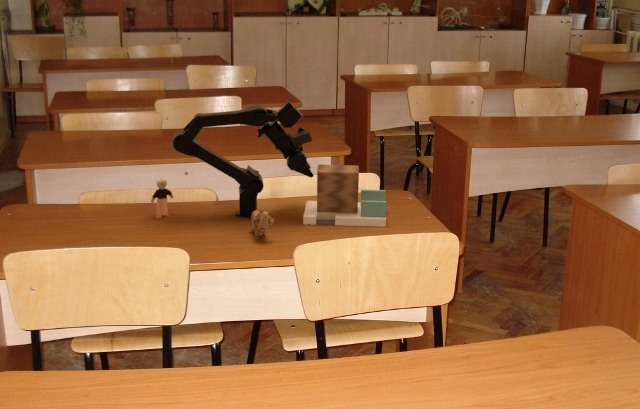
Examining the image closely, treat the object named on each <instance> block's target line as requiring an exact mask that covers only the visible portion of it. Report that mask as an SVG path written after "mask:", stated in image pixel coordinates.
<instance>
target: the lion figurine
mask: <svg viewBox="0 0 640 409" xmlns="http://www.w3.org/2000/svg"><path fill="white" fill-rule="evenodd" d="M260 211H261V210H259V211H258V209H257V210H255V211H253V213H252V215H251V218H250V230H249V233H254V235H255V236H254V239H255V240H259V239H260V236H259V231H260V232H261V231H262V234H261V236H262V238H263V239H266V238H267V235H266V231H267V228H268V227H269V225H273V222H274V221H275V218H273V217H272V216H271V215H269V212H268V211H261V212H260Z"/></svg>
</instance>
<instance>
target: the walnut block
mask: <svg viewBox="0 0 640 409" xmlns="http://www.w3.org/2000/svg"><path fill="white" fill-rule="evenodd" d="M316 173H317V175H316V201H317V212H332V213H358V202H359V180H360V179H359V176H360V165H354V164H353V165H351V164H346V165H345V164H318V165H317V170H316Z"/></svg>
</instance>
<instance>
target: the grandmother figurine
mask: <svg viewBox="0 0 640 409" xmlns="http://www.w3.org/2000/svg"><path fill="white" fill-rule="evenodd" d="M167 184H168V182H167V180H166V179H164V178H159V179H157V180H156V186H157V187H158V189H156V190H155V192H154V193H153V195H152V196H151V200H150V203H151V204H154V203H155V200H156V208H155V209H156V211H155V214H156V215H155V218H156V219H162V218H163V217H164V218H167V217H170V214H169V211H168V210H169V209H168V196H169V198H170V199H174V195H173V193H172V191H171V190H170V189H168V188H166V187H167Z"/></svg>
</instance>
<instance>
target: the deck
mask: <svg viewBox="0 0 640 409" xmlns="http://www.w3.org/2000/svg"><path fill="white" fill-rule="evenodd" d="M386 192H387V191H386V190H385V189H360V202H359V201H358V213H332V212H317V200H306V203H305V207H304V208H305V209H304V212H303V219H302V220H303V225H308V224H309V225H314V226H315V225H316V226H345V227H346V226H349V227H352V226H353V227H382V228H383V227H387V203H388V202H387V200H386ZM309 225H308V226H309Z"/></svg>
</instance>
